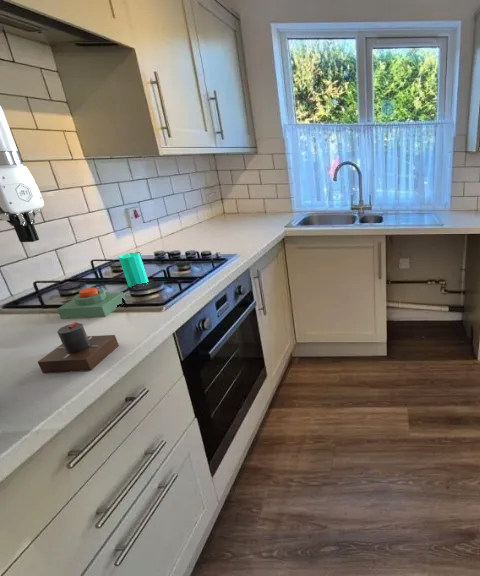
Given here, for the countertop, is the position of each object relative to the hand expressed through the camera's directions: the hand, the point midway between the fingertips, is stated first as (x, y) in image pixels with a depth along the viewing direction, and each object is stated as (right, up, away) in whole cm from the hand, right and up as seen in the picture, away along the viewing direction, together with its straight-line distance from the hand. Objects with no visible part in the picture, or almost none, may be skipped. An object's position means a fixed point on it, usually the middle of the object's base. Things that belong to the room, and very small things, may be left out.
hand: (29, 241), depth 87 cm
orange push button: (+1, -13, +17) cm, 22 cm away
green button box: (+1, -18, +19) cm, 26 cm away
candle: (+2, -10, +36) cm, 38 cm away
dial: (+16, -25, -6) cm, 30 cm away
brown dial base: (+17, -28, -4) cm, 32 cm away
